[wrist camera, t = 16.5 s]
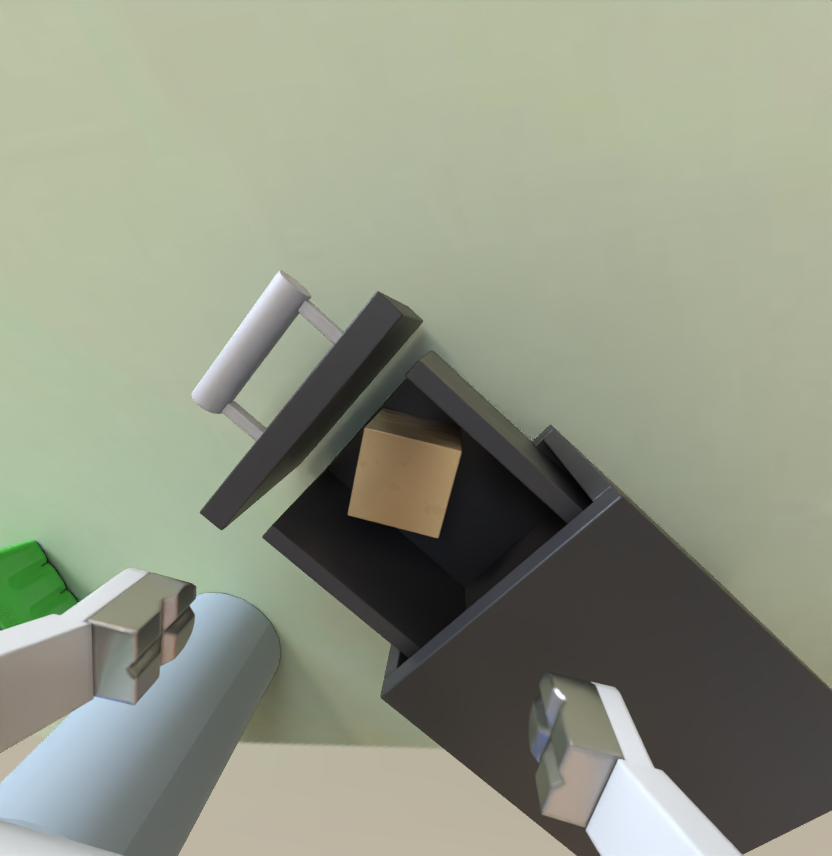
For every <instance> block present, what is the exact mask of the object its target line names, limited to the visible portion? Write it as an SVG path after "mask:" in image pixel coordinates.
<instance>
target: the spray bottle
mask: <svg viewBox="0 0 832 856" xmlns="http://www.w3.org/2000/svg"><path fill="white" fill-rule="evenodd" d="M190 607H191V609H192V610H193V612H194V614H195V623H194V627H193V630H192V634H191V636H190V638H189V640H188V642H187V643H186V645H185V647H184V649H183V650H182V651H181V652H180V653H179V655H178V656H177V657H176V658H175V659H174V660H172V661H170V662H168V663H166V664H164V665H162V666H160V676H159V678H158V679H157V680H156V682H155V683H154V684H153V685H152V686H151V687H150V688H149V690H148V691H147V692H146V693H145V694H144V695H143V696H142V698H141V699H140V700H139V701H138V702H137V703H136V705H135V706H134V705H129V704H125V703H121V702H116V701H112V700H107V699H103V698H99V697H94V699H93V700H91V701H89V702H88V703H86V704H84V705H83V706H81V707H79V708H77V709H76V710H74V711H73V712H72V713H71V714H70V715H69V716H68V717H67V718H66V719H65V720H64V721H63V722H62V723H61V724H60V725H59V726H58V727H56V728H55V729H54V730H53V731H52V732H51V733H50V734H49V735H48V736H47V737H46V738H45V739H44V740H43V741H42V743H40V744H39V745H38V746H37V748H35V749H34V750H33V751H32V752H31V753H30V754H29V755H28V756H27V757H26V758H25V759H24V760H23V761H22V762H21V763H20V764H19V765H18V766H17V767H16V768H15V769H14V770H13V771H12V772H11V773H10V774H9V775H8V776H7V777H6V778H5V779H4V780H3V781H2V782H1V783H0V820H3V821H6V822H10V823H13V824H16V825H20V826H23V827H27V828H30V829H34V830H37V831H41V832H44V833H48V834H51V835H55V836H58V837H62V838H65V839H68V840H72V841H75V842H79V843H82V844H86V845H89V846H93V847H96V848H100V849H103V850H107V851H110V852H114V853H117V854H121V855H124V856H178V855H179V852H180V851H181V849H182V847H183V845H184V843H185V841H186V839H187V838H188V836H189V834H190V832H191V830H192V828H193V826H194V824H195V822H196V821H197V819H198V817H199V815H200V813H201V811H202V809H203V807H204V806H205V804H206V802H207V800H208V798H209V796H210V794H211V792H212V790H213V789H214V786H215V785H216V783H217V781H218V779H219V777H220V775H221V773H222V771H223V770H224V768H225V766H226V764H227V762H228V760H229V758H230V756H231V755H232V753H233V751H234V749H235V747H236V745H237V743H238V741H239V740H240V738H241V736H242V734H243V732H244V730H245V728H246V726H247V725H248V723H249V721H250V719H251V717H252V715H253V713H254V711H255V709H256V708H257V706H258V704H259V702H260V700H261V698H262V696H263V694H264V692H265V691H266V689H267V687H268V685H269V683H270V681H271V679H272V677H273V676H274V674H275V672H276V670H277V668H278V664H279V660H280V655H281V650H280V644H279V638H278V636H277V634H276V632H275V630H274V628H273V626H272V624H271V622H270V621H269V620H268V619H267V618H266V617H265V616H264V615H263V614H262V613H261V612H260V611H259V610H258V609H257V608H255V607H254V606H252V605H251V604H249V603H247V602H246V601H244V600H243V599H240V598H237V597H234V596H230V595H227V594H224V593H204V594H201V595H197V596H196V599H195V600H194V601H193V602H192V603H191V604H190Z"/></svg>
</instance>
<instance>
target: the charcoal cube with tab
mask: <svg viewBox="0 0 832 856" xmlns="http://www.w3.org/2000/svg"><path fill="white" fill-rule="evenodd" d="M532 443H534V444H535V445H536V446H537V447H538V448H539V449H540V450H541V451H542V452H543V453H544V454H545V455H547V456H548V457H549V458H550V459H551V460H552V461H553V462H554V463H555V464H556V465H557V466H558V467H559V468H561V469H562V470H563V471H564V472H565V473H566V474H567V475H568V476H569V477H570V478H571V479H572V480H574V481H575V482H576V483H577V484H578V485H579V486H580V487H581V488H582V489H583V490H584V491H585V492H586V494H587V495H588V496H589V497H590V499H591V500H592V501H593V503H592V504H591V505H589V506H588V507H587V508H586V509H585V510H584V511H582V512H581V513H580V514H579V515H578V516H577V517H575V518H574V519H573V520H572V521H571V522H569V523H568V524H567V525H566V526H565V527H564V528H562V529H561V530H560V531H559V532H558V533H556V534H555V535H554V536H553V537H552V538H551V539H549V540H548V541H547V542H546V543H545V544H543V545H542V546H541V547H540V548H539V549H538V550H536V551H535V552H534V553H533V554H532V555H531V556H529V557H528V558H527V559H526V560H525V561H523V562H522V563H521V564H520V565H519V566H518V567H516V568H515V569H514V570H513V571H512V572H510V573H509V574H508V575H507V576H506V577H505V578H503V579H502V580H501V581H500V582H499V583H498V584H496V585H495V586H494V587H493V588H492V589H490V590H489V591H488V592H487V593H486V594H485V595H483V596H482V597H481V598H480V599H479V600H477V601H476V602H475V603H474V604H473V605H472V606H470V607H469V608H468V609H467V610H466V611H464V612H463V613H462V614H461V615H460V616H459V617H457V618H456V619H455V620H454V621H453V622H452V623H450V624H449V625H448V626H447V627H446V628H444V629H443V630H442V631H441V632H440V633H439V634H437V635H436V636H435V637H434V638H433V639H431V640H430V641H429V642H428V643H427V644H426V645H424V646H423V647H422V648H421V649H420V650H419V651H417V652H416V653H415V654H414V655H413V656H411V657H410V658H408V657H407V656H405V655H404V654H403V653H402V652H401V651H399V650H398V649H397V648H396V647H394V646H393V645H392V644H391V648H390V652H389V657H388V662H387V667H386V671H385V676H384V682H383V687H382V691H381V699H383V700H384V701H385V702H386V703H388V704H389V705H390V706H391V707H393V708H394V709H395V710H396V711H398V712H399V713H400V714H401V715H403V716H404V717H405V718H406V719H408V720H409V721H410V722H411V723H413V724H414V725H415V726H416V727H418V728H419V729H420V730H421V731H423V732H424V733H425V734H426V735H427V736H429V737H430V738H431V739H432V740H434V741H435V742H436V743H437V744H439V745H440V746H441V747H442V748H444V749H445V750H446V751H447V752H449V753H450V754H451V755H452V756H454V757H455V758H456V759H457V760H459V761H460V762H461V763H463V764H464V765H465V766H466V767H467V768H469V769H470V770H471V771H472V772H474V773H475V774H476V775H477V776H479V777H480V778H481V779H482V780H483V781H485V782H486V783H487V784H488V785H490V786H491V787H492V788H493V789H495V790H496V791H497V792H498V793H500V794H501V795H502V796H503V797H505V798H506V799H507V800H508V801H510V802H511V803H512V804H513V805H515V806H516V807H517V808H518V809H520V810H521V811H522V812H523V813H525V814H526V815H527V816H528V817H529V818H531V819H532V820H533V821H534V822H536V823H537V824H538V825H539V826H541V827H542V828H543V829H544V830H546V831H547V832H548V833H549V834H551V835H552V836H553V837H554V838H556V839H557V840H558V841H559V842H561V843H562V844H563V845H564V846H565V847H567V848H568V849H569V850H570V851H572V852H573V853H574V854H575V855H577V856H600V854H599V852H598V851H597V849H596V847H595V846H594V844H593V842H592V841H591V839H590V837H589V836H588V834H587V832H586V828H585V827H581V826H578V825H575V824H571V823H568V822H565V821H561V820H558V819H555V818H552V817H548V816H545V815H542V814H541V808H540V803H539V797H538V791H537V786H536V780H535V773H536V770H537V768H538V765H539V763H538V762H537V760H536V759H535V757H534V756H533V754H532V753H531V752H530V746H529V739H528V719H529V711H530V708H531V705H532V701H533V700H534V699H535V698H537V697H538V696H540V695H541V693H540V688H539V682H540V679H541V677H542V675H543V674H544V672H545V671H548V672H552V673H556V674H560V675H564V676H569V677H573V678H577V679H581V680H585V681H589V682H595V683H599V684H604V685H608V686H612V687H615V688H616V689H617V690H618V691H619V692H620V694H621V696H622V698H623V700H624V703H625V705H626V707H627V709H628V711H629V714H630V716H631V718H632V720H633V722H634V724H635V727H636V729H637V731H638V733H639V735H640V737H641V740H642V742H643V744H644V746H645V748H646V751H647V753H648V755H649V757H650V759H651V761H652V764H653V766H654V768H656V769H659V770H662V771H663V772H664V773H665V774H666V775H667V776H668V777H669V778H670V779H671V780H672V781H673V782H674V783H675V784H676V785H677V786H678V787H679V788H680V789H681V791H682V792H683V793H684V794H685V795H686V796H687V797H688V798H689V799H690V800H691V801H692V802H693V803H694V804H695V805H696V806H697V807H698V808H699V810H700V811H701V812H702V813H703V814H704V815H705V816H706V817H707V818H708V819H709V820H710V821H711V822H712V823H713V824H714V825H715V826H716V827H717V828H718V830H719V831H720V832H721V833H722V834H723V835H724V836H725V837H726V838H727V839H728V840H729V841H730V842H731V843H732V844H733V845H734V846H735V847H736V848H737V850H738V851H739V852H740V853H741V854H742V855H743V854H745V853H747V852H749V851H751V850H753V849H755V848H757V847H759V846H761V845H763V844H765V843H767V842H769V841H771V840H773V839H775V838H777V837H779V836H781V835H783V834H785V833H787V832H789V831H791V830H793V829H795V828H797V827H799V826H801V825H803V824H805V823H807V822H809V821H811V820H813V819H815V818H817V817H819V816H821V815H823V814H825V813H827V812H829V811H831V810H832V689H830V688H829V687H828V686H827V685H826V684H825V683H824V682H823V681H822V680H821V679H820V678H819V677H818V676H817V675H816V674H815V673H814V672H813V671H812V670H811V669H810V668H808V667H807V666H806V665H805V664H804V663H803V662H802V661H801V660H800V659H799V658H798V657H797V656H796V655H795V654H794V653H793V652H792V651H791V650H790V649H789V648H788V647H786V646H785V645H784V644H783V643H782V642H781V641H780V640H779V639H778V638H777V637H776V636H775V635H774V634H773V633H772V632H771V631H770V630H769V629H768V628H767V627H765V626H764V625H763V624H762V623H761V622H760V621H759V620H758V619H757V618H756V617H755V616H754V615H753V614H752V613H751V612H750V611H749V610H748V609H747V608H746V607H745V606H743V605H742V604H741V603H740V602H739V601H738V600H737V599H736V598H735V597H734V596H733V595H732V594H731V593H730V592H729V591H728V590H727V589H726V588H725V587H724V586H722V585H721V584H720V583H719V582H718V581H717V580H716V579H715V578H714V577H713V576H712V575H711V574H710V573H709V572H708V571H706V570H705V569H704V568H703V567H702V566H701V565H700V564H699V563H698V562H697V561H696V560H695V559H694V558H693V557H691V556H690V555H689V554H688V553H687V552H686V551H685V550H684V549H683V548H682V547H681V546H680V545H679V544H678V543H677V542H675V541H674V540H673V539H672V538H671V537H670V536H669V535H668V534H667V533H666V532H665V531H664V530H663V529H662V528H661V527H659V526H658V525H657V524H656V523H655V522H654V521H653V520H652V519H651V518H650V517H649V516H648V515H647V514H646V513H645V512H643V511H642V510H641V509H640V508H639V507H638V506H637V505H636V504H635V503H634V502H633V501H632V500H631V499H630V498H629V497H627V496H626V495H625V494H624V493H623V492H622V491H621V490H620V489H619V488H618V487H617V486H616V485H615V484H614V483H613V482H611V481H610V480H609V479H608V478H607V477H606V476H605V475H604V474H603V473H602V472H601V471H600V470H599V469H598V468H597V467H595V466H594V465H593V464H592V463H591V462H590V461H589V460H588V459H587V458H586V457H585V456H584V455H583V454H582V453H581V452H579V451H578V450H577V449H576V448H575V447H574V446H573V445H572V444H571V443H570V442H569V441H568V440H567V439H566V438H565V437H563V436H562V435H561V434H560V433H559V432H558V431H557V430H556V429H555V428H554V427H553V426H552V425H550V426H549V427H548V428H546V429H545V430H544V431H543V432H542V433H541V434H540V435H539V436H538V437H537V438H536V439H535V440H534V441H533V442H532Z"/></svg>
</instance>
